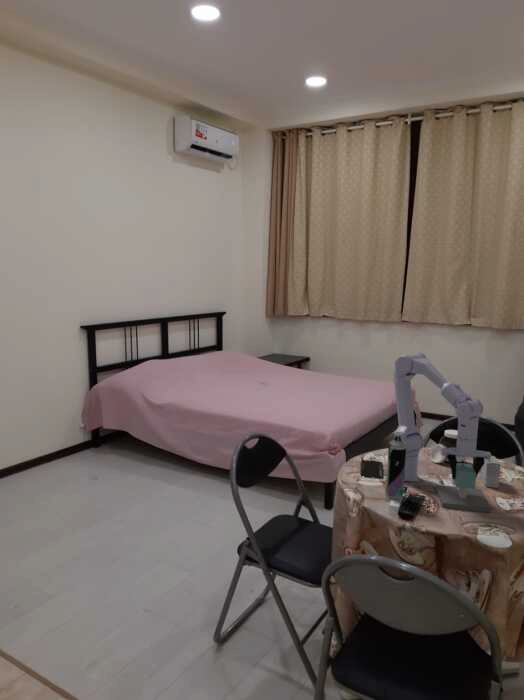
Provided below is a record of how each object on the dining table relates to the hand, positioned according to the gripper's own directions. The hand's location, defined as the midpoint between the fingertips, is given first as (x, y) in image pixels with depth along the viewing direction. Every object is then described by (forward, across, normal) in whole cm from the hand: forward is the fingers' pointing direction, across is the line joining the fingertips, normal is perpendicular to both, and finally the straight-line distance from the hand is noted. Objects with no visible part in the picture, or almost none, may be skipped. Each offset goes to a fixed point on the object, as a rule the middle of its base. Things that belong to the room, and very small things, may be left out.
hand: (463, 478), depth 160 cm
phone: (+8, -28, +19) cm, 35 cm away
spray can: (+7, -21, -2) cm, 22 cm away
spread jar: (+7, +1, +35) cm, 36 cm away
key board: (+7, 0, 0) cm, 7 cm away
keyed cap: (+1, 0, 0) cm, 1 cm away
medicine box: (+7, +12, +17) cm, 22 cm away
